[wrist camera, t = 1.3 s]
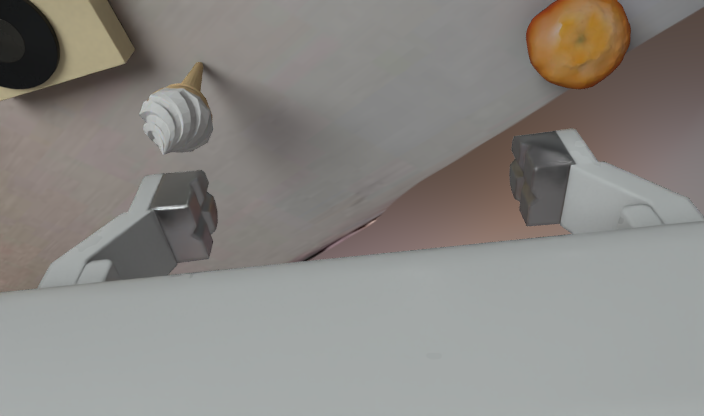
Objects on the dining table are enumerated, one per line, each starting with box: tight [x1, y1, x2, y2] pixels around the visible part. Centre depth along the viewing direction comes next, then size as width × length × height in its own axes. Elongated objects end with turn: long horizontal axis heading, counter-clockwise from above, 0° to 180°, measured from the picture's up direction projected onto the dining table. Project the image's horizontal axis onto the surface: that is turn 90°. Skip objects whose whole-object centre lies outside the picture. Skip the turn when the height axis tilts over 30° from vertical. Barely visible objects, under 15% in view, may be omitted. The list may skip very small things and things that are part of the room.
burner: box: [0, 0, 60, 89], centre depth 45 cm, size 9×9×1 cm
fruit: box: [526, 0, 631, 89], centre depth 47 cm, size 8×8×8 cm
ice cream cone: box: [139, 62, 213, 155], centre depth 45 cm, size 6×6×15 cm
